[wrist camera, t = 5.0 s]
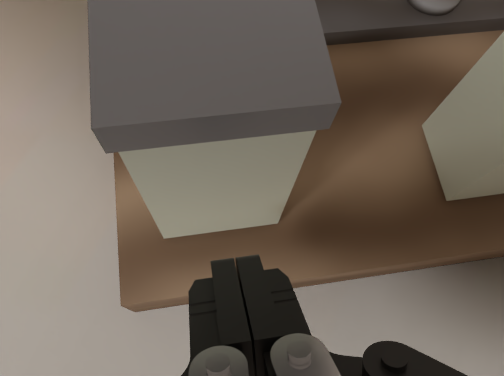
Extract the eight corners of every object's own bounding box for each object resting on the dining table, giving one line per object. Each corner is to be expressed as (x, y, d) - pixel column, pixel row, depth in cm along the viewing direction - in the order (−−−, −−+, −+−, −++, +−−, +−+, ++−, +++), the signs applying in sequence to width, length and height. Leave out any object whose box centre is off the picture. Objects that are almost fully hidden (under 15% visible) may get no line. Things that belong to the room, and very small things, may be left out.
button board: (554, 248, 23) (629, 225, 19) (134, 311, 21) (111, 301, 16) (458, 12, 28) (500, -48, 24) (119, 40, 26) (98, -21, 22)
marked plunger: (282, 227, 19) (341, 102, 10) (159, 243, 18) (91, 128, 9) (266, 139, 21) (303, -45, 11) (151, 151, 20) (86, -31, 10)
